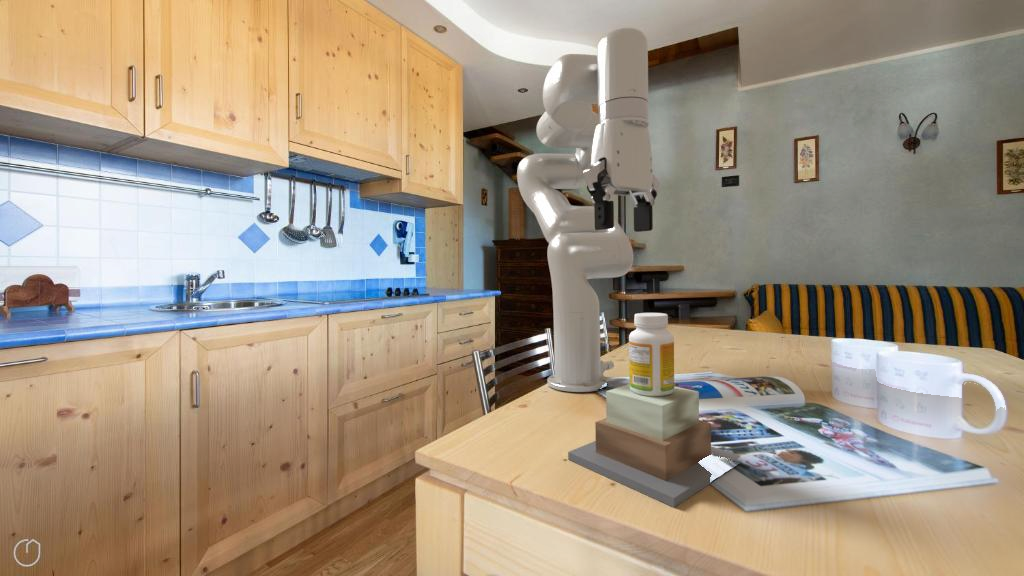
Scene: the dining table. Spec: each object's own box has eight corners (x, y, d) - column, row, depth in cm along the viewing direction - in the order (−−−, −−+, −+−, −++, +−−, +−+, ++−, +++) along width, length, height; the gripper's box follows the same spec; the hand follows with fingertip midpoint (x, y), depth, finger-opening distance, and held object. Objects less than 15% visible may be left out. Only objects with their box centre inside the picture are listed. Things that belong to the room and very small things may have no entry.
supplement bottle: (668, 385, 58) (667, 311, 57) (679, 397, 52) (679, 316, 52) (626, 384, 58) (625, 312, 58) (633, 397, 53) (632, 317, 52)
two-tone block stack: (642, 432, 63) (641, 377, 62) (711, 455, 55) (710, 391, 54) (595, 452, 56) (594, 391, 56) (665, 481, 49) (665, 409, 48)
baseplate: (638, 430, 66) (638, 423, 66) (740, 463, 54) (740, 455, 54) (568, 459, 57) (568, 451, 57) (673, 507, 45) (673, 498, 45)
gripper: (636, 134, 76) (637, 233, 77) (565, 114, 65) (568, 230, 66) (676, 122, 70) (676, 230, 71) (605, 99, 59) (607, 226, 60)
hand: (624, 230), depth 69 cm, fingers open, 9 cm apart
